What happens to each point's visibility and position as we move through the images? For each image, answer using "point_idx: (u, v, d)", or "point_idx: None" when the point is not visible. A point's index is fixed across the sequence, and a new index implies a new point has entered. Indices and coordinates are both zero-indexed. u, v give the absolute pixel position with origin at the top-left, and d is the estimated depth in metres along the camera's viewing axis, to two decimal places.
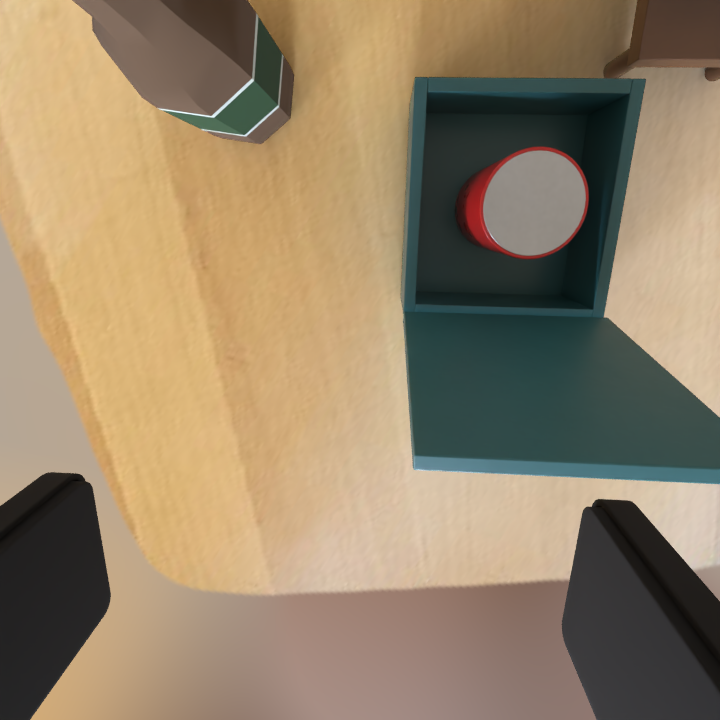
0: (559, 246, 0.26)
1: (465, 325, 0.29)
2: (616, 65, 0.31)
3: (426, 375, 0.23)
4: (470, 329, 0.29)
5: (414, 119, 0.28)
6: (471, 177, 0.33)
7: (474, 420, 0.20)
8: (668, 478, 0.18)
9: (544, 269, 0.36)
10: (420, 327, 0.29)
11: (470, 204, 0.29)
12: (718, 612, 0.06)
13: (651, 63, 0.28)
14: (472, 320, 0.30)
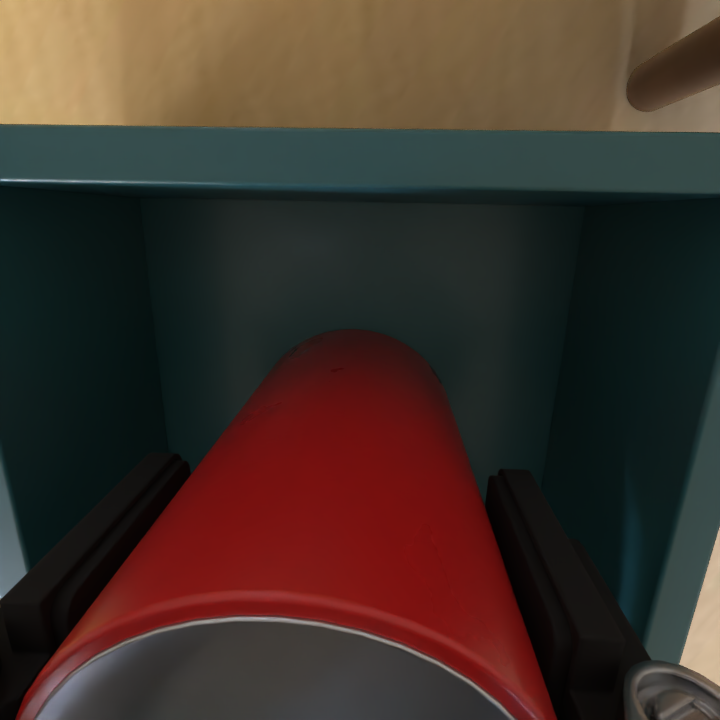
0: None
1: None
2: (670, 71, 0.10)
3: None
4: None
5: None
6: (270, 372, 0.12)
7: None
8: None
9: None
10: None
11: None
12: (568, 554, 0.07)
13: None
14: None
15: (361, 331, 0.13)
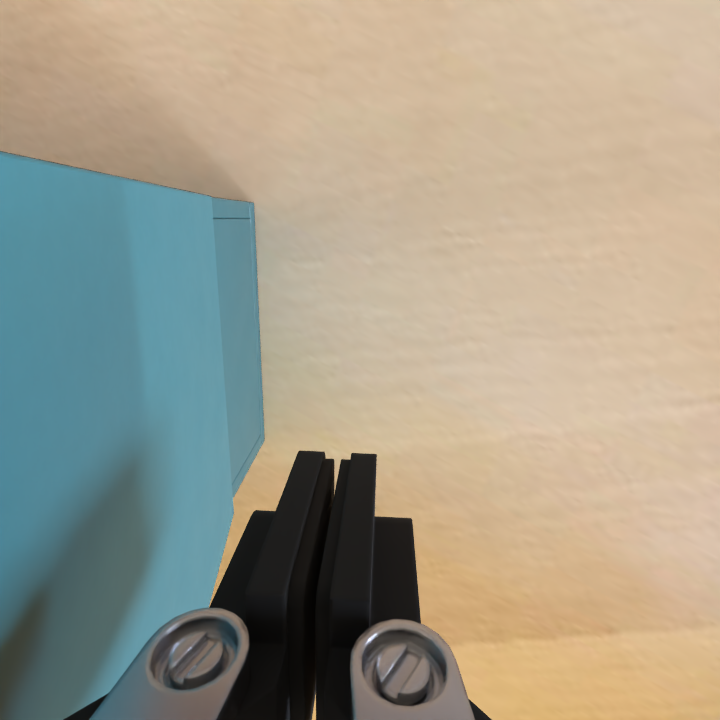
0: None
1: None
2: None
3: None
4: None
5: None
6: None
7: None
8: None
9: None
10: None
11: None
12: (364, 528, 0.07)
13: None
14: None
15: None
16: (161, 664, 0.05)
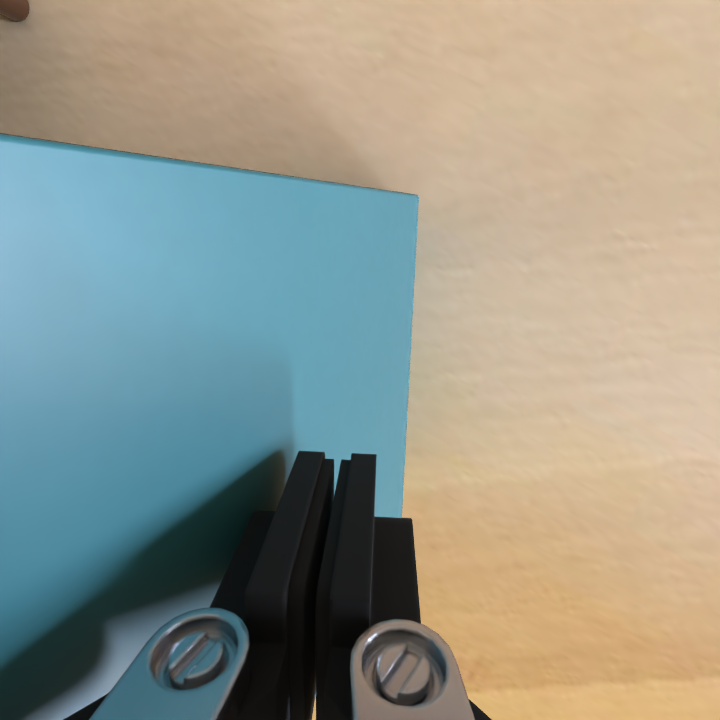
0: None
1: None
2: None
3: None
4: None
5: None
6: None
7: None
8: None
9: None
10: None
11: None
12: (364, 528, 0.07)
13: None
14: None
15: None
16: (161, 664, 0.05)
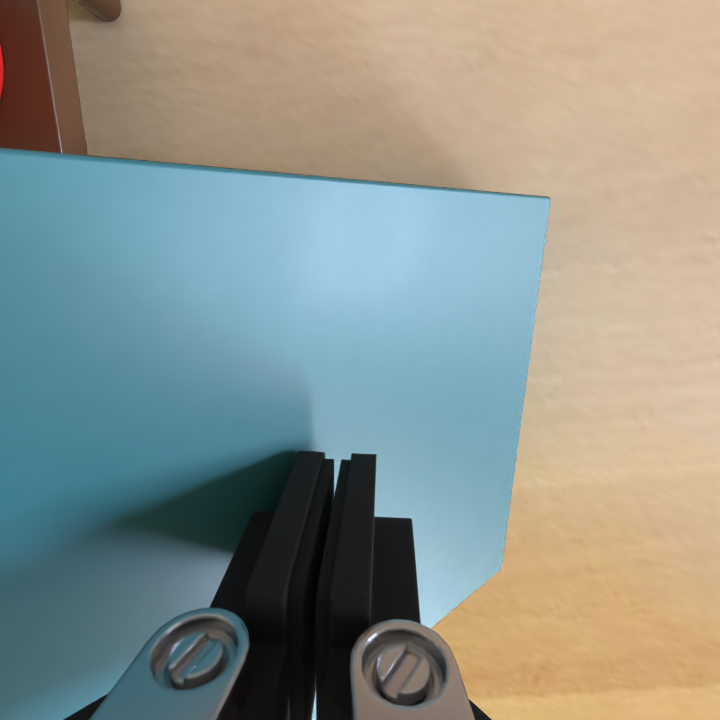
0: None
1: None
2: None
3: None
4: None
5: None
6: None
7: None
8: None
9: None
10: None
11: None
12: (364, 528, 0.07)
13: None
14: None
15: None
16: (161, 664, 0.05)
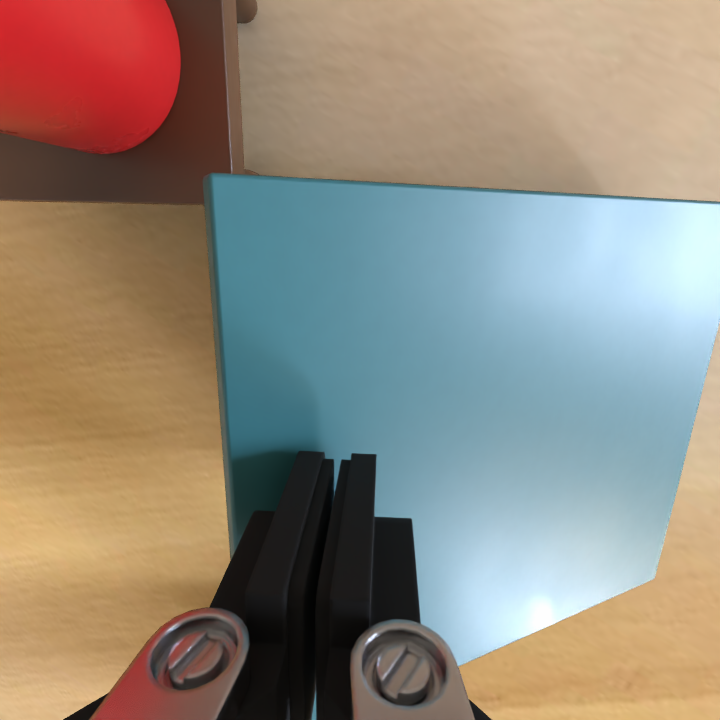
0: None
1: None
2: None
3: None
4: None
5: None
6: None
7: None
8: (221, 393, 0.09)
9: None
10: None
11: None
12: (364, 528, 0.07)
13: (238, 171, 0.16)
14: None
15: None
16: (161, 664, 0.05)
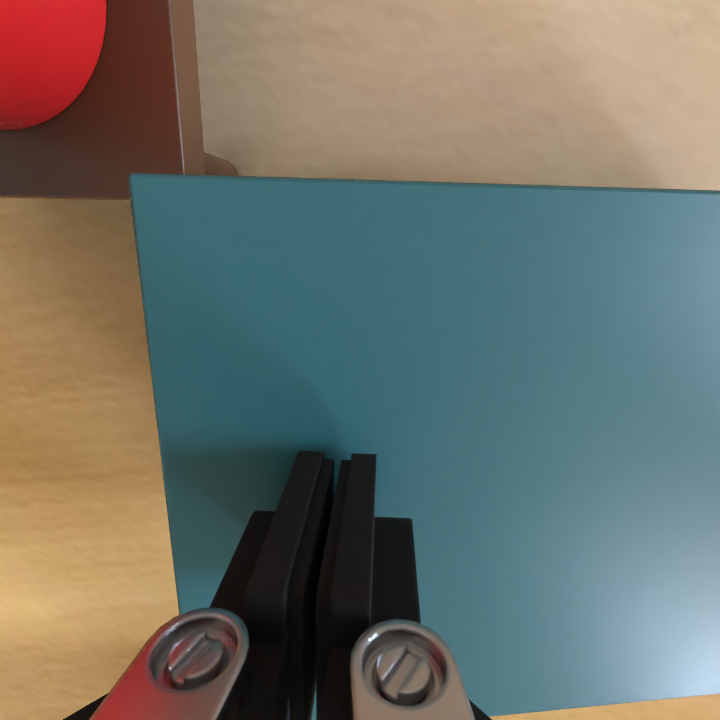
0: None
1: None
2: None
3: None
4: None
5: None
6: None
7: None
8: None
9: None
10: None
11: None
12: (364, 528, 0.07)
13: (194, 154, 0.12)
14: None
15: None
16: (161, 664, 0.05)
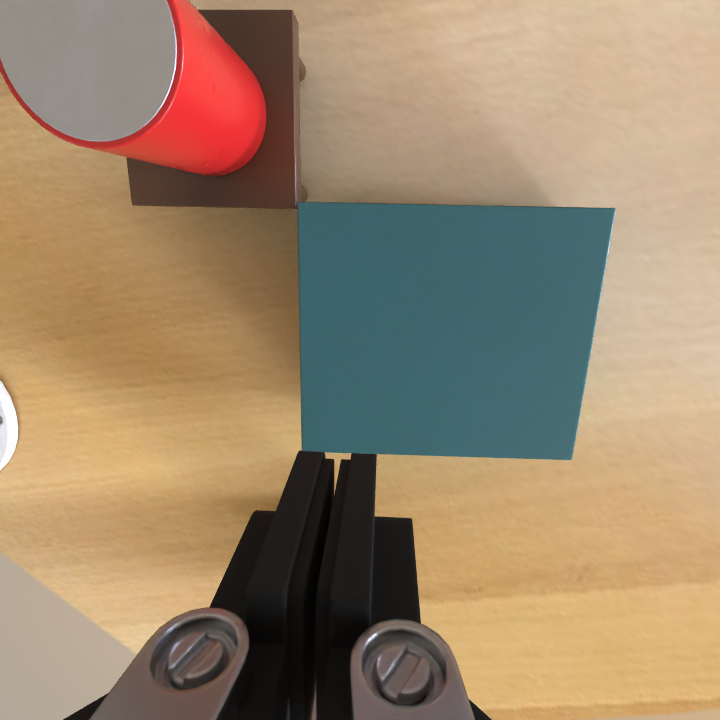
0: None
1: None
2: None
3: None
4: None
5: None
6: None
7: None
8: (299, 281, 0.24)
9: None
10: None
11: (145, 160, 0.18)
12: (364, 528, 0.07)
13: (298, 186, 0.25)
14: None
15: None
16: (161, 664, 0.05)
